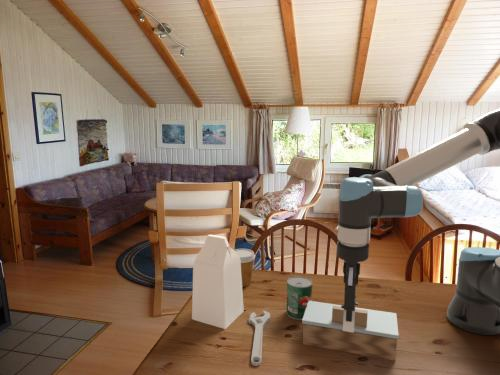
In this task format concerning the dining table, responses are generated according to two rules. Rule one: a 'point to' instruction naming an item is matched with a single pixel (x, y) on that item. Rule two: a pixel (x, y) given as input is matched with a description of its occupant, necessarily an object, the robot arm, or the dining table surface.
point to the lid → (363, 323)
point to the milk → (217, 283)
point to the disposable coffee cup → (246, 265)
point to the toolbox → (350, 341)
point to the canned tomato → (298, 296)
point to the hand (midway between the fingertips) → (348, 330)
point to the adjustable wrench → (258, 335)
